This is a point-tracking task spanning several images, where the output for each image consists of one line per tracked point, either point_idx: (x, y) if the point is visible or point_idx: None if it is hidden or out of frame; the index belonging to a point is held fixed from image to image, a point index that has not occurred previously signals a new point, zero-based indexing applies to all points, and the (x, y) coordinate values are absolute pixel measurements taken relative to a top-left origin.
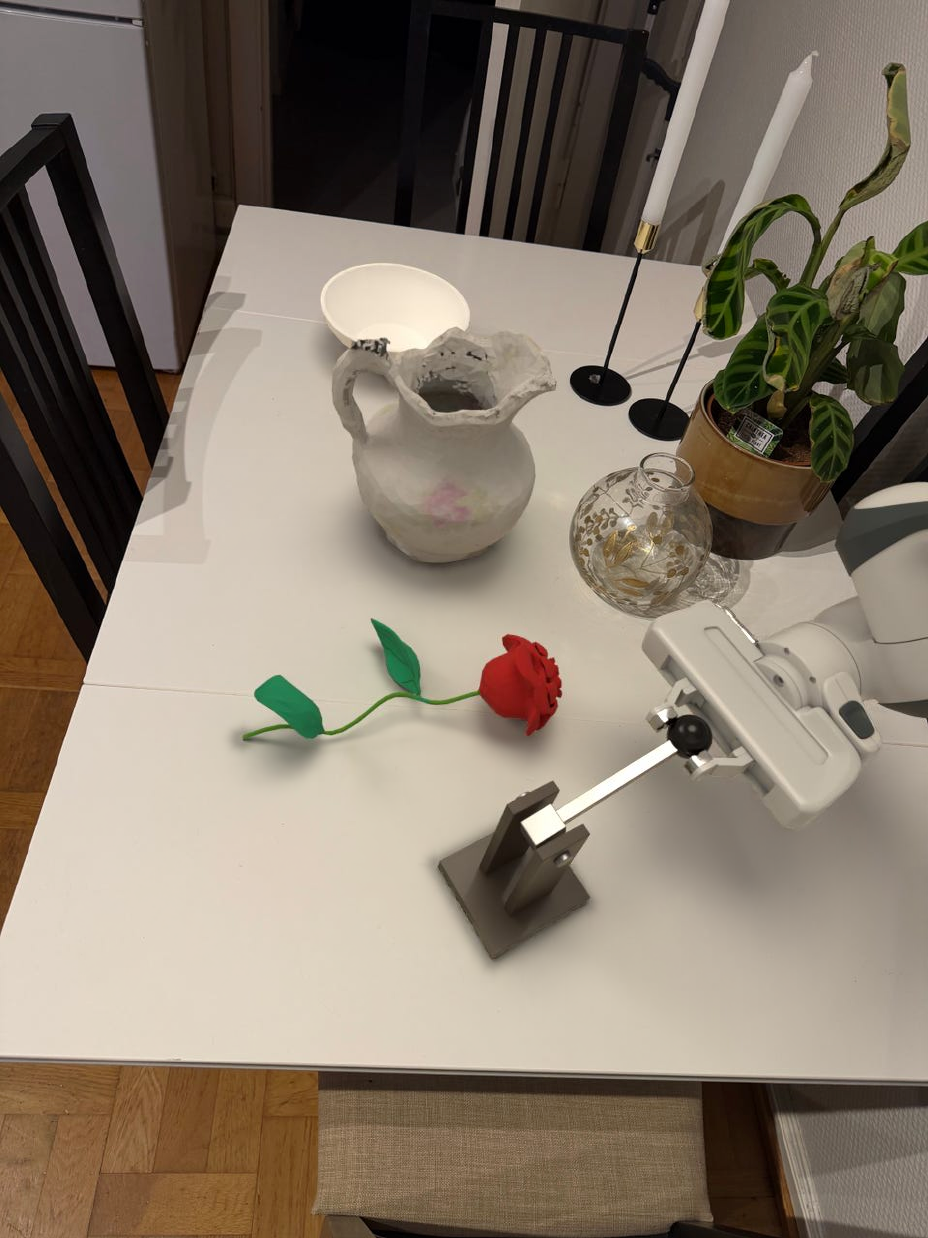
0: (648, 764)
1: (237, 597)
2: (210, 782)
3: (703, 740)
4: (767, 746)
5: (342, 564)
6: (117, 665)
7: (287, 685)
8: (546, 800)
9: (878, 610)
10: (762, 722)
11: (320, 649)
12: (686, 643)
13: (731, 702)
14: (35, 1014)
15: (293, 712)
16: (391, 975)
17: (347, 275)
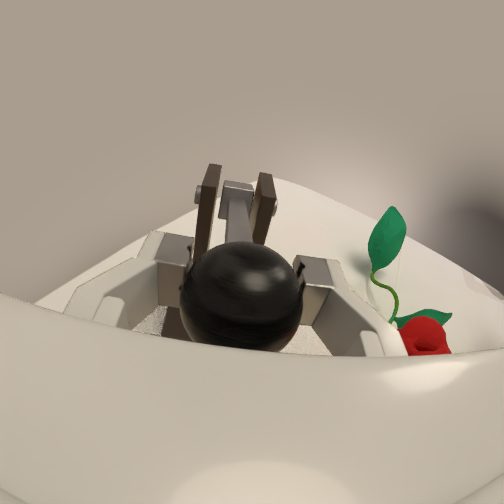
0: (234, 237)
1: (452, 288)
2: (351, 237)
3: (208, 258)
4: (29, 347)
5: (481, 341)
6: (411, 242)
7: (399, 225)
8: (259, 196)
9: None
10: (105, 446)
11: (428, 306)
12: (500, 388)
13: (281, 406)
14: (274, 180)
15: (383, 227)
16: (212, 235)
17: None
